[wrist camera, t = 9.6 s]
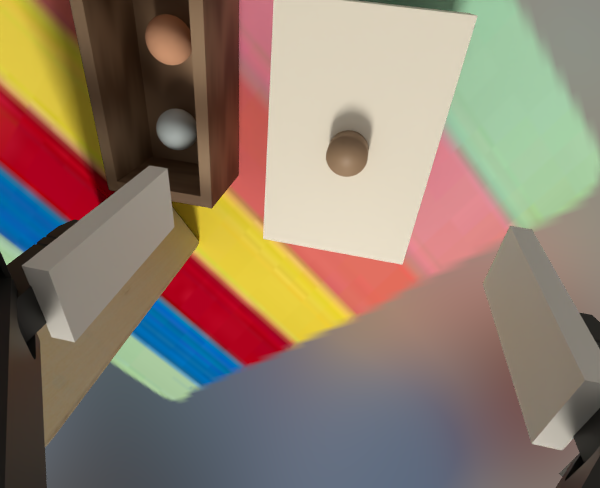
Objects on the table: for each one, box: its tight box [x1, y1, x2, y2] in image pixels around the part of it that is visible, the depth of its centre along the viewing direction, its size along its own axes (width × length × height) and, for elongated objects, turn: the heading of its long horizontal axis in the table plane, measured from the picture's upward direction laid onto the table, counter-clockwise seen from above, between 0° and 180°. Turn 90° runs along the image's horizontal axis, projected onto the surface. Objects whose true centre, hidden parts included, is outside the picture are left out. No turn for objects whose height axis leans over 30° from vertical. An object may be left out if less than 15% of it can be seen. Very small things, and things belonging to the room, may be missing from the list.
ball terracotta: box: [145, 14, 192, 65], centre depth 26 cm, size 3×3×3 cm
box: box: [70, 0, 239, 208], centre depth 27 cm, size 14×8×6 cm, turn 175°
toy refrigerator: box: [37, 207, 199, 447], centre depth 29 cm, size 8×7×21 cm
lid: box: [263, 0, 477, 264], centre depth 24 cm, size 15×10×4 cm, turn 175°
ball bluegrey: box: [156, 109, 197, 150], centre depth 29 cm, size 3×3×3 cm
